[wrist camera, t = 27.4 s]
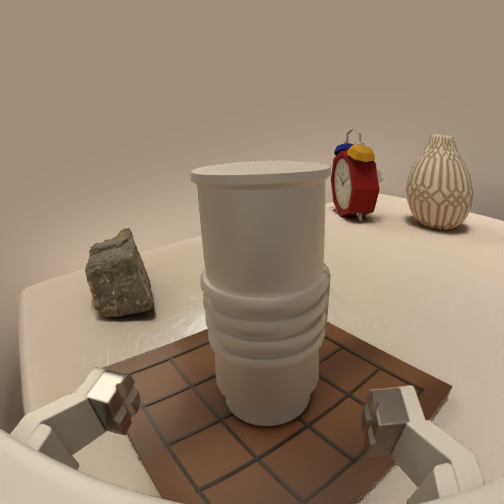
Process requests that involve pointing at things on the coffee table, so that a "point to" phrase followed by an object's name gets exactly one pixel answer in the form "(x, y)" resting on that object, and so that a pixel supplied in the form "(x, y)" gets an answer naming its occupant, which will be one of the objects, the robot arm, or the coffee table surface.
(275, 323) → the white travel cup
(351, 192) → the alarm clock
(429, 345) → the coffee table surface
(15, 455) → the robot arm
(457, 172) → the vase
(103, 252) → the rock
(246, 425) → the grid board
